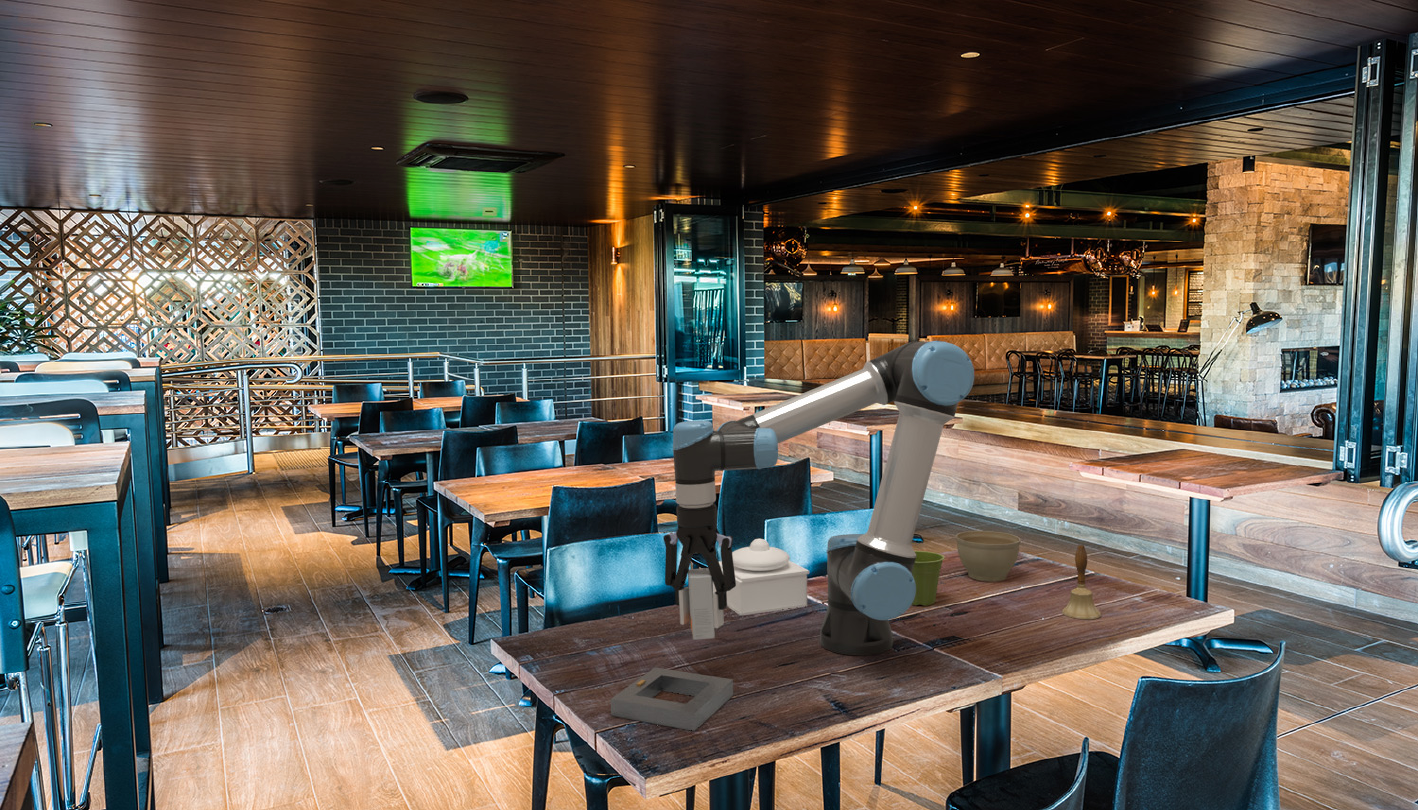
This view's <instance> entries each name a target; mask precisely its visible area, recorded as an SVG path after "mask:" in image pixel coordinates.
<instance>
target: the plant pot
mask: <svg viewBox="0 0 1418 810" xmlns="http://www.w3.org/2000/svg"><path fill="white" fill-rule="evenodd" d="M914 552H915V553H916V559H915V563H914V567H913V570H912V576H913V577H914V580H915V584H916V594H915V598H914V601H913V603H912V604H911V606H918V605H921V606H924V607H925V606H926V607H927V606H930V605H933V604H935V602H936V599H937V591H938V585H939V578H940V572H941V569H942V565H943V561H944V560H945V558H946V557H945V555H943V554H941V553H938V552H933V551H923V550H914Z"/></svg>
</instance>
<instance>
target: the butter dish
mask: <svg viewBox="0 0 1418 810" xmlns="http://www.w3.org/2000/svg"><path fill="white" fill-rule="evenodd" d="M732 556H733V564H734V572H735V580H736V586H735V587H734V588H733V589H731V590H730V591H727V608H729V609H731V611H733V612H734V611H735V612H734V613H735V614H737V615H738V616H740V617H741V616H746V615H747V616H748V615H754V614H762V613H768V612H776V611H783V610H782V609H784V610H789V609H788V608H792V609H798V608H805V606H806V607H808V575H809V574H810V570H808V569H807V568H805V567H802V566H801V565H800V564H797V563H795V562H793V561H791V560H790V559H791V557H790V554H789V553H788V552H786V551H785V550H783V549H781V548H777V547H773V546H770V544H769V542H768V541H767V540H765V539H763V538H755V539H754V540H752V542H750V545H749V546H745V547H741V548H738V549H735V550H734V551H732ZM718 562H719V564H720V567H721V570H722V573H723V568H722V560H718ZM715 592H716V589H715V586H714V583H713V582H712V594H713V593H715ZM796 607H798V608H796Z"/></svg>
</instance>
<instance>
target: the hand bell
mask: <svg viewBox="0 0 1418 810" xmlns="http://www.w3.org/2000/svg"><path fill="white" fill-rule="evenodd" d="M1087 554H1088V553H1087V551H1086V547H1085V545H1084V544H1078V545H1077V549H1076V552H1075V555H1074V557H1075V558H1074V563H1075V568H1076V570H1077V578H1076V579H1077V581H1076V582H1077V585H1076V587H1075V588H1073V589H1071V591H1070V597H1069V601H1068V604H1067V605H1066V606H1065V607H1064V608H1063V609H1062V611H1061V613H1062V615H1063V616H1066V617H1068V618H1071V619H1076V620H1097V619H1099V618H1101V617H1102V613H1101V611H1100V610H1099V609H1098V608H1097V607H1096V605H1095V602H1094V598H1093V592H1092V591H1091V590H1090V589H1088V588H1087V587H1086V570H1087V567H1088V555H1087Z"/></svg>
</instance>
